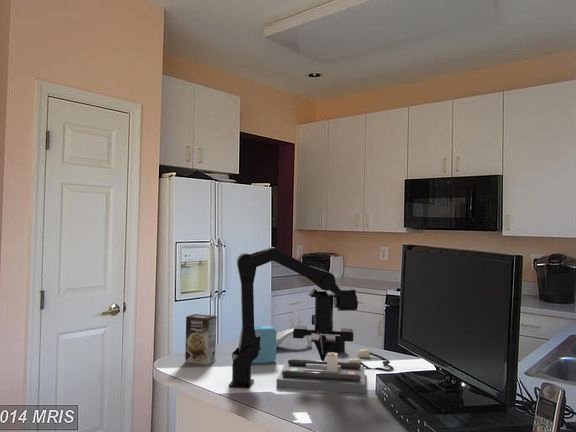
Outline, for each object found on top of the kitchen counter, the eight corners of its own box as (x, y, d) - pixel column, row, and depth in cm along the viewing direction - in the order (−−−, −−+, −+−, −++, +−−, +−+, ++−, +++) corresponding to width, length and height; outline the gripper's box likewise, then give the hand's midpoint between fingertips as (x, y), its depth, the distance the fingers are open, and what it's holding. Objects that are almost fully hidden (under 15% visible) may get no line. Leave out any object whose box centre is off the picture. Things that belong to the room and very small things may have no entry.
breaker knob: (336, 374, 143) (337, 356, 143) (327, 373, 144) (327, 355, 144) (337, 370, 147) (337, 352, 147) (328, 369, 148) (328, 352, 148)
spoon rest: (253, 352, 178) (253, 333, 178) (251, 344, 189) (251, 326, 190) (314, 350, 182) (314, 332, 182) (308, 342, 193) (308, 325, 193)
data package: (273, 358, 169) (273, 325, 169) (276, 362, 165) (276, 328, 165) (240, 360, 166) (240, 327, 166) (242, 364, 161) (243, 329, 162)
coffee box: (184, 362, 163) (185, 316, 163) (193, 357, 169) (194, 313, 169) (207, 365, 160) (208, 318, 160) (216, 360, 166) (216, 315, 166)
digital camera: (346, 351, 180) (347, 333, 180) (338, 354, 176) (338, 335, 176) (325, 346, 187) (326, 328, 187) (317, 348, 183) (317, 331, 183)
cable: (399, 361, 169) (399, 351, 170) (392, 374, 154) (392, 364, 154) (357, 356, 175) (357, 346, 175) (346, 368, 160) (346, 358, 160)
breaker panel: (364, 393, 135) (364, 378, 135) (276, 387, 139) (276, 373, 139) (364, 373, 153) (364, 360, 153) (285, 369, 157) (286, 356, 157)
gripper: (354, 307, 153) (353, 355, 153) (297, 305, 156) (296, 352, 155) (353, 314, 142) (352, 365, 142) (293, 311, 145) (292, 361, 144)
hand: (322, 360), depth 146 cm, fingers closed
